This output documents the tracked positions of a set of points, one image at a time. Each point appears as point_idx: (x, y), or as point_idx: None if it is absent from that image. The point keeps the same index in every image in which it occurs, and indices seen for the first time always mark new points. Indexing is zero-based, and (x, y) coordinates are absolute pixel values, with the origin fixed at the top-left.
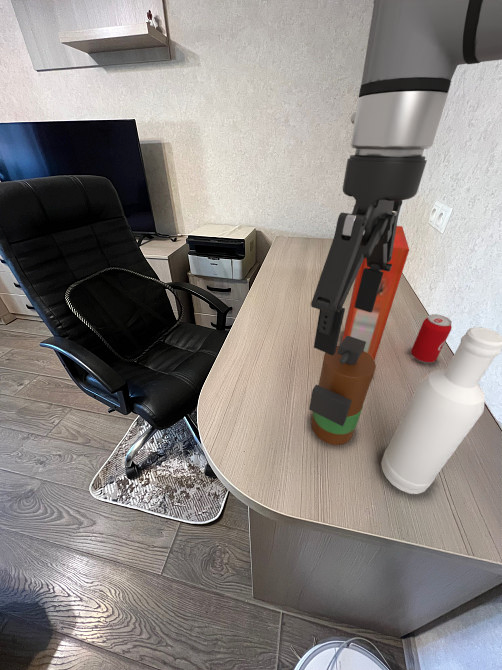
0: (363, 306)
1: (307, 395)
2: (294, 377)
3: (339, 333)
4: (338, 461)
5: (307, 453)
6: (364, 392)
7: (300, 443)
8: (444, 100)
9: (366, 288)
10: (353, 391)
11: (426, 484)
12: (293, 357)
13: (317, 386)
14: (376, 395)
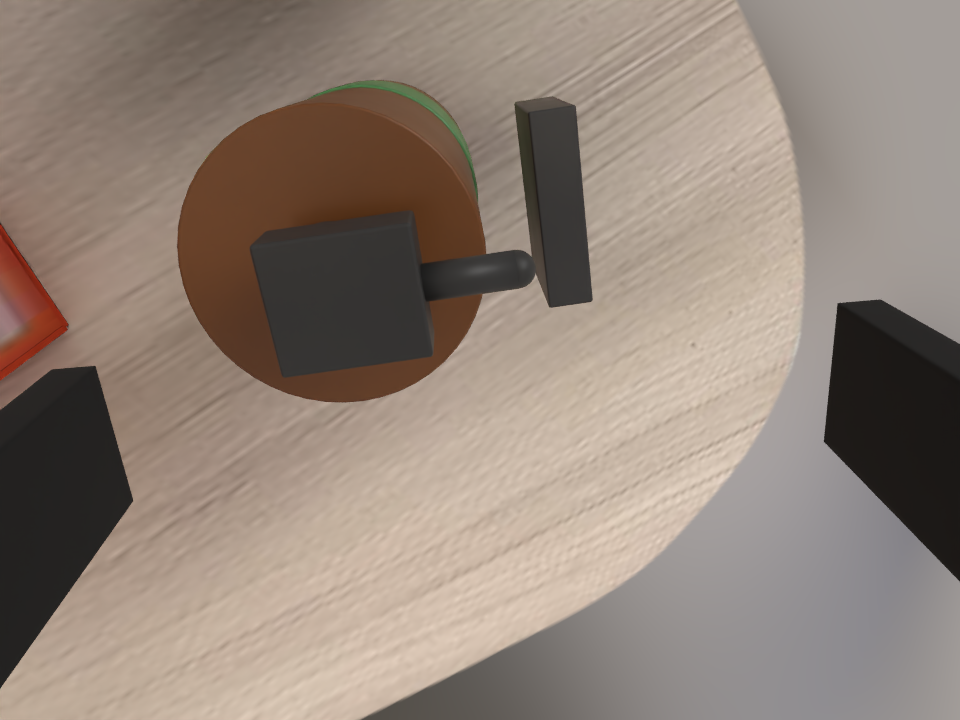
0: (99, 452)
1: None
2: (276, 432)
3: (951, 369)
4: (504, 67)
5: None
6: (373, 98)
7: None
8: None
9: (7, 577)
10: (441, 141)
11: None
12: (177, 509)
13: (558, 294)
14: (65, 104)
